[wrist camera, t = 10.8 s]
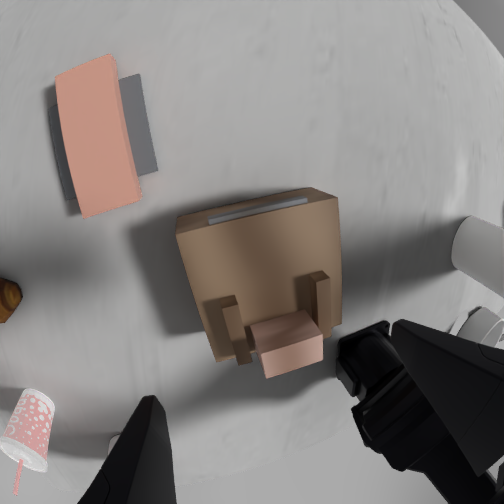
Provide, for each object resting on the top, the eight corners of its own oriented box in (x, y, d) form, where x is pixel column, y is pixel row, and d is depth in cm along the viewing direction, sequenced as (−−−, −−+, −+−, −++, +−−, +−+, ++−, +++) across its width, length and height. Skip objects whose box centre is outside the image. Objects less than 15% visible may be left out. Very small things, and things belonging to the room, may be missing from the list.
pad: (140, 75, 15) (139, 73, 14) (158, 170, 17) (157, 170, 17) (50, 109, 14) (48, 108, 13) (69, 199, 16) (67, 200, 16)
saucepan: (483, 343, 42) (499, 357, 37) (437, 363, 37) (456, 382, 32) (505, 297, 38) (523, 309, 33) (466, 305, 33) (490, 322, 28)
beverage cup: (46, 385, 21) (17, 490, 9) (68, 418, 24) (53, 512, 11) (10, 381, 20) (-23, 471, 7) (33, 413, 22) (12, 498, 10)
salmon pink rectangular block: (115, 60, 13) (110, 53, 12) (142, 196, 17) (138, 201, 16) (63, 81, 13) (54, 76, 11) (90, 212, 17) (83, 218, 15)
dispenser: (310, 183, 20) (364, 203, 14) (320, 298, 24) (360, 346, 18) (176, 213, 19) (171, 248, 12) (210, 330, 23) (222, 392, 16)
